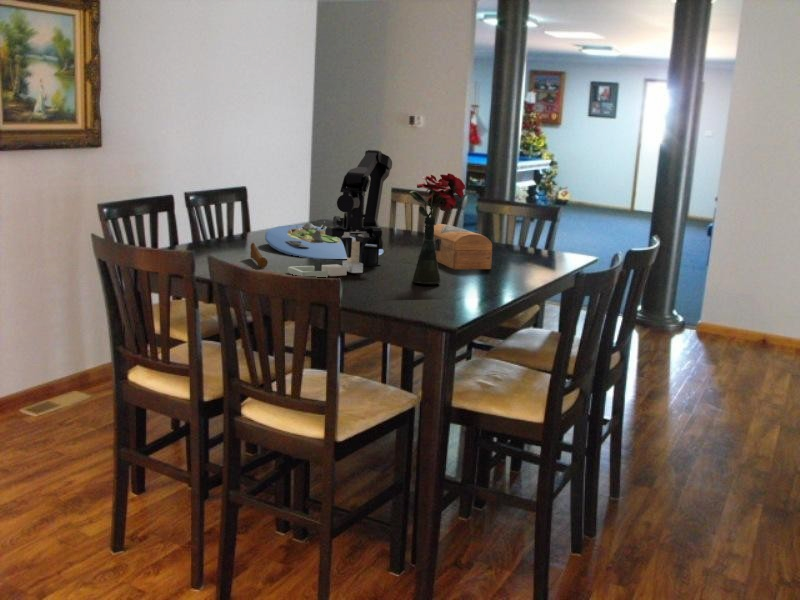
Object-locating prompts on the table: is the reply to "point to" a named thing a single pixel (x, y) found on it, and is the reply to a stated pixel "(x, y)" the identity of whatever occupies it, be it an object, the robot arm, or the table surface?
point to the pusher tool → (354, 259)
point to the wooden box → (461, 248)
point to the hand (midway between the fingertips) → (352, 257)
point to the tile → (335, 270)
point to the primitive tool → (258, 256)
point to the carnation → (446, 201)
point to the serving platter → (307, 242)
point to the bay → (306, 271)
